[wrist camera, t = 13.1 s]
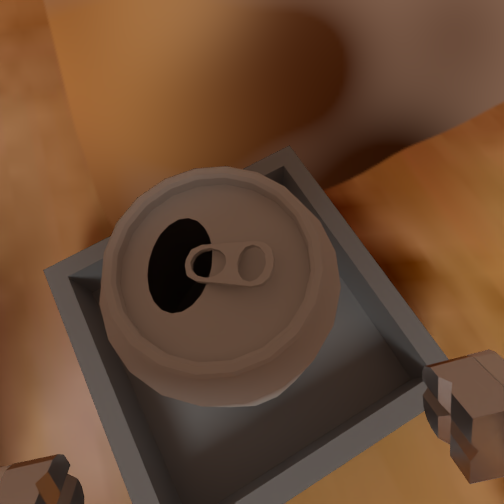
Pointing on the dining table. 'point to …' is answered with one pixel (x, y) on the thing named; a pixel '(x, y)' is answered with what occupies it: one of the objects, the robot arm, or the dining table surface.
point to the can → (218, 287)
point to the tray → (272, 411)
